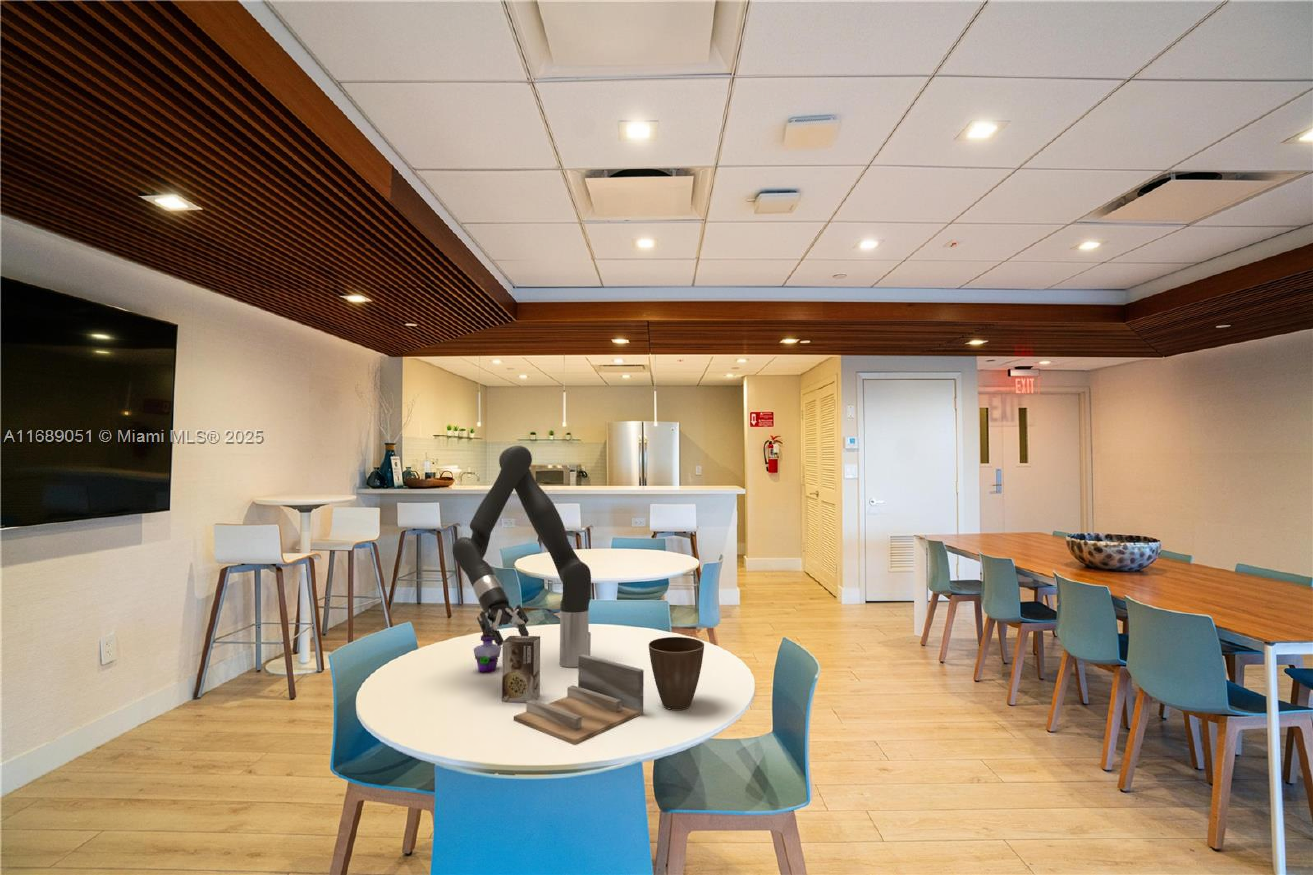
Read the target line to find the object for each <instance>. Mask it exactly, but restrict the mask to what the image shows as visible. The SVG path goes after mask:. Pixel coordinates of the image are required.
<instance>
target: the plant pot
mask: <svg viewBox="0 0 1313 875" xmlns="http://www.w3.org/2000/svg"><path fill="white" fill-rule="evenodd" d="M704 649H705V643H704V642H703V641H702V640H699V639H697V638H696V639H695V638H691V637H683V636H671V637H670V636H669V637H668V636H666V637H660V638H656V639H653V640H652V641H650V642H649V643H648V650H649V658H650V665H651V668H652V673H653V674H652V675H653V678H654V682H655V686H656V689H657V692H658V695H659V698H660V701H661V704H662V706H663V705H664V706H665V707H666V708H665V707H664V706H663V707H664V708H665V709H667V708H670V709H669V710H671V709H683V710H685V709H684V708H687V707H689V706H690V707H691V706H692V702H693V699H694V697H695V694H696V690H697V687H698V684H699V679H700V675H701V669H702V664H703V658H704V651H705V650H704ZM690 707H689V708H690ZM687 709H688V708H687Z"/></svg>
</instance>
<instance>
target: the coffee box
mask: <svg viewBox="0 0 1313 875" xmlns="http://www.w3.org/2000/svg"><path fill="white" fill-rule="evenodd" d="M503 640H504V641H503V642H502V645H501V646H502V647H501V652H502V658H501V659H502V662H501V663H502V666H501V668H502V669H501V670H502V671H501V672H502V674H501V677H502V678H501V685H502V686H501V702H502V703H503V702H507V703H508V702H513V703H527V701H529V700H532V699H533V700H536V701H537V699H538V698H539V696H540V694H541V691H540V690H541V687H540V686H541V636H540V635H538V636H537V635H529V636H521V635H509V636H507V637H506V639H503Z"/></svg>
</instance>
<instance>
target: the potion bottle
mask: <svg viewBox="0 0 1313 875" xmlns="http://www.w3.org/2000/svg"><path fill="white" fill-rule="evenodd" d="M480 641H481V642H482V644H480V645H476V647H474V648H473V653H474V659H475V660H476V664H477V669H478V670H477V671H478V672H479V673H481V674H482V673H483V674H489V673H494V672H495V671H497V666H498V662H499V661H498V660H499V657H500V656H501V652H502V645H501V646H498V645H497V644H496V643H493V642H494V639H493V637H492V635H490V634H487V635H484V634H483V633H482V635H480Z"/></svg>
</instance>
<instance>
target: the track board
mask: <svg viewBox="0 0 1313 875" xmlns="http://www.w3.org/2000/svg"><path fill="white" fill-rule="evenodd" d="M577 668H578V670H577V673H578V676H577V679H578V681H577V683H578V684H577V686H576V685H574V684H572V685H569V686H567V694H566V695H567V696H565V697H562V698H560V699H557V700H554V701H552V702H548V703H545V702H542V701H539V700H537V699H536V700H533V699H532V700H529V701H527V702H526V704H525V705H526V707H525V708H526V711H523V712H521V713H519V714H515V715H513V722H516V723H520V724H521V725H524V726H527V727H529V728H531V729H535V730H537V731H539V732H542V733H545V734H547V735H549V736H552V737H554V738H557V739H559V740H562V741H564V742H566V743H569V744H572V745H577V744H579V743H581V742H584V741H586V740H588V739H590V738H593V737H594V736H597V735H599V734H601V733H604V732H606V731H608V730H610V729H612V728H615V727H616V726H619V725H621V724H624V723H626V722H628V721H630V720H632V719H634V718H637V717H639V716H641V715H644V669H642V668H639V667H635V666H630V665H628V664H624V663H619V662H616V661H612V660H608V659H605V658H604V659H603V658H599V657H596V656H593V655H592V656H591V655H590V656H589V655H585V654H583V655H579V663H578V667H577ZM640 714H641V715H640ZM638 715H639V716H638ZM636 716H637V717H636ZM629 719H630V720H629Z"/></svg>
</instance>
